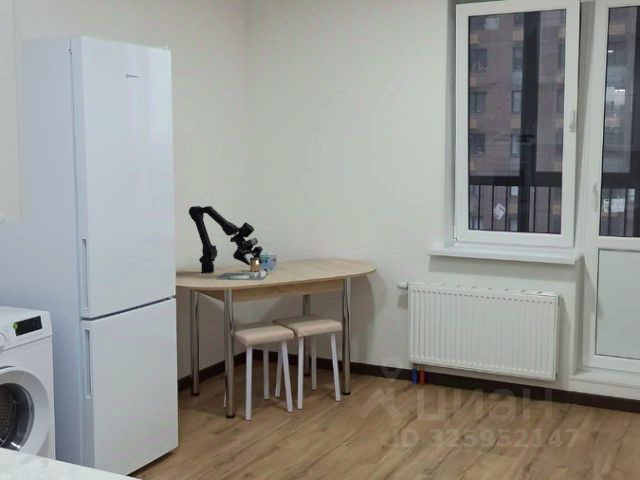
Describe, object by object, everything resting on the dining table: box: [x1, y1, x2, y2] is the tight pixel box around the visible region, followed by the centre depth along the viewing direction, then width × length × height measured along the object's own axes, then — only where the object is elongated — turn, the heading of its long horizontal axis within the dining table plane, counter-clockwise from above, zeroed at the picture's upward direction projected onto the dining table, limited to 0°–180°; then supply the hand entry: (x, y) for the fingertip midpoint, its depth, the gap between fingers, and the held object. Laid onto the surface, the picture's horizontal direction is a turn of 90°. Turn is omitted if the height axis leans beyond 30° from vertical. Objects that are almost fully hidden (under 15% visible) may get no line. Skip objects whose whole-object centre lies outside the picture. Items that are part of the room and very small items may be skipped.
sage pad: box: [229, 275, 249, 281], centre depth 422 cm, size 11×11×1 cm
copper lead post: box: [249, 256, 259, 273], centre depth 430 cm, size 5×5×10 cm
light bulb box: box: [259, 252, 278, 273], centre depth 448 cm, size 11×7×11 cm, turn 105°
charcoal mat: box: [215, 272, 270, 281], centre depth 428 cm, size 26×24×1 cm
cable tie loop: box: [243, 270, 267, 277], centre depth 430 cm, size 11×9×3 cm
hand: (255, 264), depth 429 cm, fingers open, 9 cm apart
